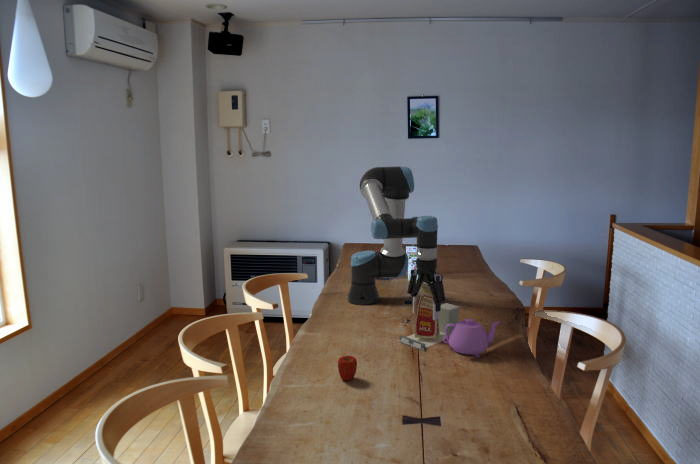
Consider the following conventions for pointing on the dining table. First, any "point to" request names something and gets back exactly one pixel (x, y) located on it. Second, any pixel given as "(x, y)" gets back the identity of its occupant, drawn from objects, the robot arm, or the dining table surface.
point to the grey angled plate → (421, 341)
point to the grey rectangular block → (448, 317)
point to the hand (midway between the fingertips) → (425, 315)
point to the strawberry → (347, 367)
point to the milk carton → (426, 316)
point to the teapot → (469, 337)
